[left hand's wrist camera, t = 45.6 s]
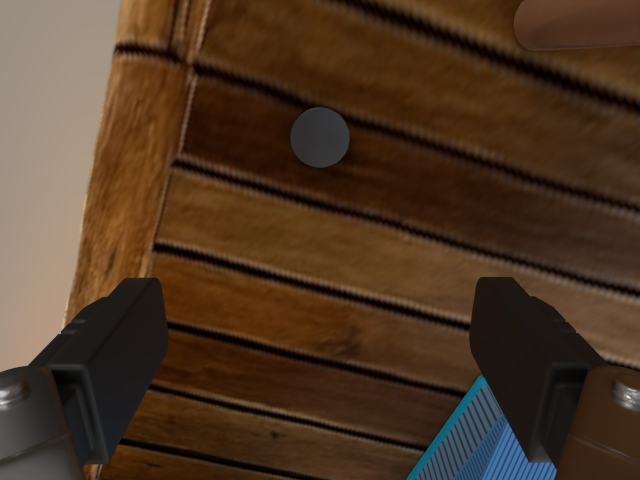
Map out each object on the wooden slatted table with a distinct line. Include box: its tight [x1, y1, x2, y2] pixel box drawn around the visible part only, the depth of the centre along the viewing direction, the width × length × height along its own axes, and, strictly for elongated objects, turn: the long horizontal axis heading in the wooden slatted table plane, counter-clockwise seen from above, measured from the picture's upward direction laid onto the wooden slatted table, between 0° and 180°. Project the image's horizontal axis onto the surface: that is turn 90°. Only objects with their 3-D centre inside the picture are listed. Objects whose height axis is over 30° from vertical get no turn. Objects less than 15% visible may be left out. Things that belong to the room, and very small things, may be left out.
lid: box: [290, 106, 350, 168], centre depth 38 cm, size 5×5×2 cm
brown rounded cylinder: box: [513, 0, 640, 51], centre depth 27 cm, size 4×4×18 cm
